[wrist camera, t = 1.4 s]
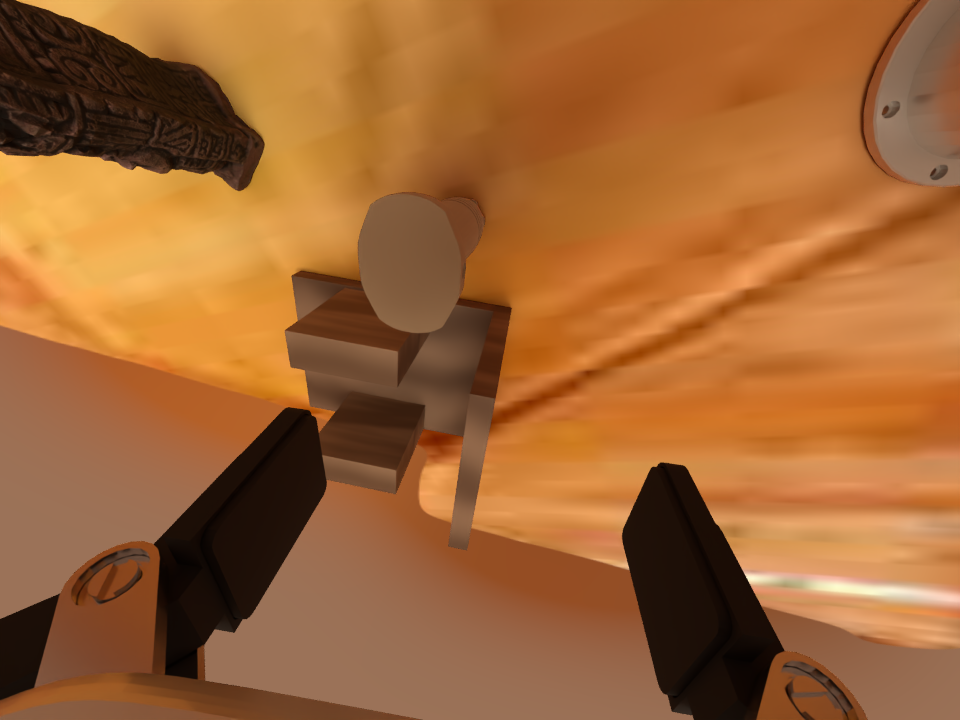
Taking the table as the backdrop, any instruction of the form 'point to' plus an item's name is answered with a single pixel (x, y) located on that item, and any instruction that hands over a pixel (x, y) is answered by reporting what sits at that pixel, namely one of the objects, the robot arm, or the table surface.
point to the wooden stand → (396, 385)
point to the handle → (417, 257)
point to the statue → (113, 101)
